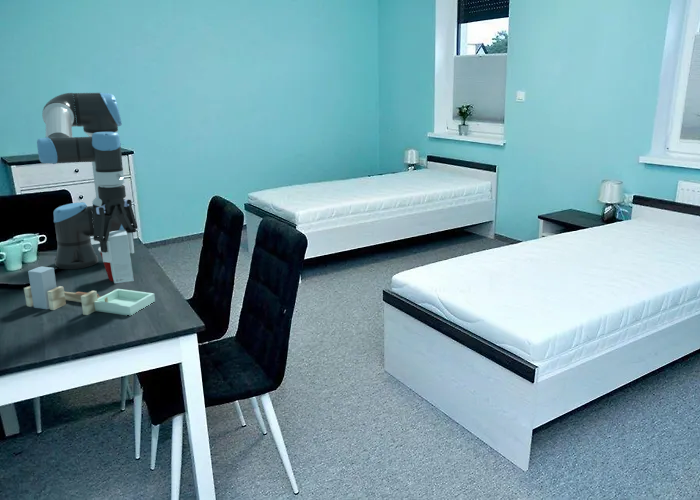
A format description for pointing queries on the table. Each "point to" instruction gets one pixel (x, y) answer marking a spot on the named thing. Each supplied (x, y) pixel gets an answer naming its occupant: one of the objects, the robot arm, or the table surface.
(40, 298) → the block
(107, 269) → the plastic cup
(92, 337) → the table surface
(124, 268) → the skincare box
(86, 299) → the beige elongated piece
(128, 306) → the tray
